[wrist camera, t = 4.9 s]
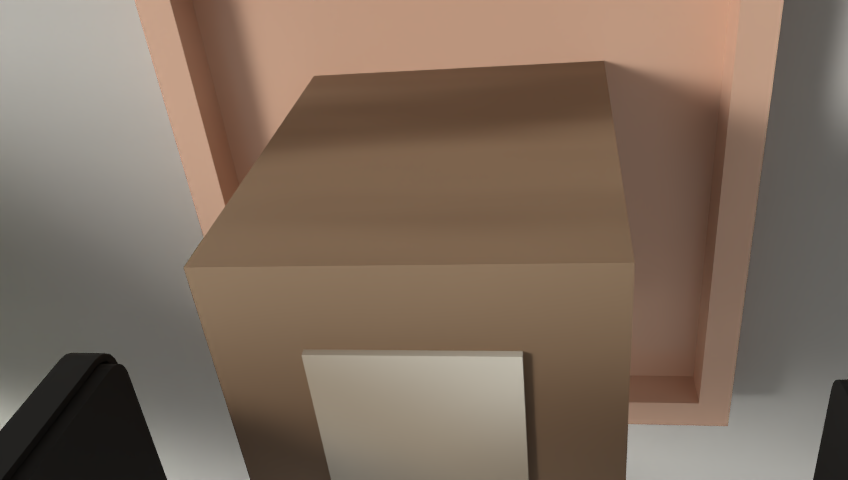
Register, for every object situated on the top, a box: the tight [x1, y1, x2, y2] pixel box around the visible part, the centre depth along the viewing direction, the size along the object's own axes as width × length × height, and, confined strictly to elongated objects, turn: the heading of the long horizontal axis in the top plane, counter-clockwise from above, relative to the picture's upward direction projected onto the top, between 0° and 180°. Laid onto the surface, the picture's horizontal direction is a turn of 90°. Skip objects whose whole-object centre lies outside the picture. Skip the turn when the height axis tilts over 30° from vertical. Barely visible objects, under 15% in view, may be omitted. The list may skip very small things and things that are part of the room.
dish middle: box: [135, 0, 784, 426], centre depth 15 cm, size 10×10×1 cm
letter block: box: [184, 61, 635, 480], centre depth 13 cm, size 5×5×6 cm
